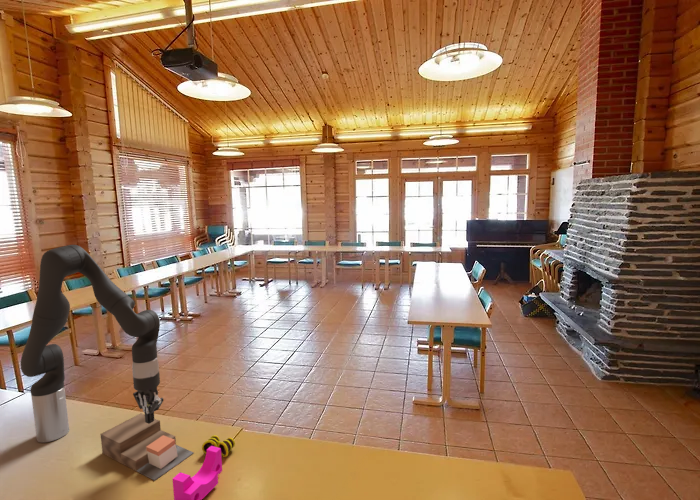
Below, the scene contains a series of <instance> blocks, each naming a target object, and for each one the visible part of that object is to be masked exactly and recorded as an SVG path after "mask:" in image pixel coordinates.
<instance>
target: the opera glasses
mask: <svg viewBox="0 0 700 500" xmlns="http://www.w3.org/2000/svg"><path fill="white" fill-rule="evenodd" d="M210 446H214V447H218V448H221V457H223V458H227V457H228V455H229V453H230V452H231V450H232V449H234V447H235V446H236V441H235V439H233V438H232V437H228V438H227V439H224V440H223V441H220V438H219V436H218V435H211V436H210V438H208V439H207V440H206V441H205V442H203V444H202V446H201V451H202V452H203V453H204V454H205V455H206V452H207V449H208V448H209V447H210Z"/></svg>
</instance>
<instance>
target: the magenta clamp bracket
mask: <svg viewBox="0 0 700 500" xmlns="http://www.w3.org/2000/svg"><path fill="white" fill-rule="evenodd" d="M222 471H223V460H222V456H221V448H218V447H214V446H210V447H209V448H208V449H207V452H206V454H205V457H204V460H203V462H202V465H201V467H200V468H199V470H198V471H197V472H196V473H195V474H194V475H193V476H191V475H190V474H187V473H185V472H181V471H180V472H179V473H177V474H176V475H175V476H174V477H172V489H173V500H203V499H204V498H205V497H206V496H207V495H208V494H209V493H210V492H211V491H212V490H213V489H215V487H216V486H217V485H218V484H219V477H218V475H220V474H221V473H222Z"/></svg>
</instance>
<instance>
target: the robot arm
mask: <svg viewBox="0 0 700 500" xmlns="http://www.w3.org/2000/svg"><path fill="white" fill-rule="evenodd" d="M39 267H40V268H39V279H38V280H39V282H38V290H37V296H36V302H35V305H34V307H33V312H32V313H33V314H32V319H31V325H30V330H29V334H28V337H27V341H26V343H25V346H24V348H23V351H22V355H21V359H20V368H21V369H20V370H21V372H22V374H23V375H24V376H25V377H27V378H28V377H29V378H33V377H37V376H40V375H42V377H41V378H39V379H38V380H37V381H35V383H33V384H32V385H31V387H30V394H31V395H30V397H31V404H32V410H33V420H34V428H35V435H36V436H35V437H36V441H37V442H38V443H49V442H53V441H56V440H58V439H60V438H63V437H64V436H66V435H67V434H68V433H69V431H70V424H69V416H68V407H67V400H66V398H67V397H66V391H65V378H66V377H65V360H64V359H65V358H64V353H63V349H62V348H61V346H60V345H58V344H56V343H52V344H49V343H50V342H51V341H52V340H53V339H54V338H55V337H56V336H57V335H58V334H59V333H60V332H61V331H62V330H63V328H64V327H65V326H66V324H67V322H68V318H69V316H70V315H69V314H70V310H71V303H70V301H69V300H68V298H67V296H66V295H65V293H63V292H62V286H63V283H64V280H65V278H66V277H68V276H71V275H74V274H77V273H80V274H82V275H83V276H85V278H87V279H88V281H89V282H90V284H91V286H92V291H93V294H94V297H95V299H96V301H97V302H98V303H99V304H100V305H101V306H102V308H104V309H105V310H106V311H107V312H108V313H110V314H111V315H113V317H114V318H115V320H116V321H117V323H118V324H119V326H120V327H121V329H122V330H123V332H124V333H125V334H126V335H128V336H130V337H132V338H137V339H136V341H135V342H134V343H133V344H132V346H131V358H132V359H131V360H132V367H131V370H132V380H133V381H132V382H133V389H134V390H135V392H133V393H132V396H133V397H134V400H135V401H136V403H137V406H138V407H139V409H140V410H142V412H143V413H144V415H145V422H146V423H148V424H150V423H151V422H153V421H154V419H155V412H156V411H158V410H159V409H160V407H161V405H162V404H163V403H164V397H161V398H160V397H159V391H158V386H159V385H160V383H161V380H160V379H161V377H160V376H161V375H160V364H159V359H158V347H157V343H158V339H159V334H160V333H159V332H160V328H161V321H160V316H159V315H158V313H157V312H155V311H154V310H152V309H145V310H142V311H140V312H138V313H136V312H135V311H134V308H135V306H136V302H135V300H134V299H133V298H132V297H130V296H129V295H128V294H127V293H126V292H125V291H124V290H122V289H121V288H120V287H118V285H117V284H115V283H114V282H113V281H112V280H111V278H109V277H108V275H107V274H106V273H105V272H104V270H103V268H101V267H100V265H98V263H97V262H96V261H95V259H94V258H92V256H91V255H90V254H89V253H88V252H87V251H86V250H85V249H84V248H83V247H82V246H80V245H77V244H69V245H64V246H59V247H55V248H51V249H49V250H47V251H45V252H44V253H43V255H42V256H41V260H40V265H39ZM43 374H44V375H43Z"/></svg>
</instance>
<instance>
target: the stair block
mask: <svg viewBox="0 0 700 500" xmlns="http://www.w3.org/2000/svg"><path fill="white" fill-rule="evenodd" d="M163 435H164V436H167V437H169V438H172V439H174V440H175V443H176V449H177V455H178V456H177V457H176V458H175V459H173V460H172V461H171V462H169V463H168V464H167V465H165V466H164V467H163V468H162V469H160V468H158V467H156V466H154V465H152V464H149V460H148V454H147V449H146V447H147V446H148V445H149V444H151V443H152V442H154V441H155V440H157V439H158V438H160V437H161V436H163ZM176 440H177V439H176V436H175V435H174V434H171V433H169V432H167V431H164V430H162V429H161V420H159V419H157V418H154V421H153V422H151V423H150V424H148V423H146V422H145V413H142V412H140V413H139V414H136V415H135V416H132V417H131V418H129V419H126V420H125V421H123V422H121V423H119V424H116V425H115V426H114V427H111V428H109V429H108V430H105V431H103V432H102V433H100V441H101V443H100V444H101V451H102V454H103V455H105V456H107V457H108V458H111V459H112V460H114V461H116V462H118V463H120V464H121V465H124V466H126V467H128V468H130V469H131V470H133V471H134V472H137V473H138V474H141V475H142V476H144V477H146V478H149V479H150V480H152V481H154V482H155V481H157V480H158V479H159V478H161V477H162V476H164V475H165V474H167V473H168V472H169V471H171V470H172V469H174V468H175V467H176V466H177V465H179V464H181V463H182V462H184V461H185V460H186V459H188V458H189V457H190V456H193V455H194V454H195V452H193V451H191V450H189V449H187V448H184V447H182V446H180V445H177V442H176Z"/></svg>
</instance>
